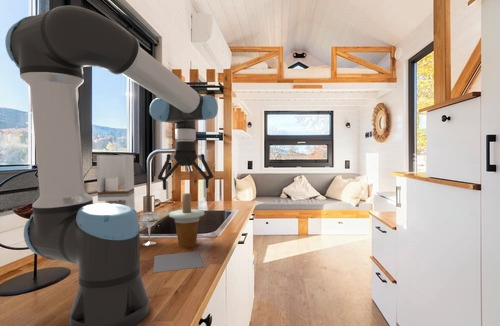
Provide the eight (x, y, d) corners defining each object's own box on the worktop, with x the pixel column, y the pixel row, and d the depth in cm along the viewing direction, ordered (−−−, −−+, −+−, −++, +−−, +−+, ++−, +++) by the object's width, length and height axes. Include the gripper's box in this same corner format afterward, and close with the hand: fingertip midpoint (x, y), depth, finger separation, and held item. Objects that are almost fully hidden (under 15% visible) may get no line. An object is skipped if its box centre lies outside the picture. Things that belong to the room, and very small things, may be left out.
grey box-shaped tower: (108, 240, 118) (105, 155, 117) (135, 238, 120) (133, 155, 119) (99, 248, 107) (96, 155, 106) (129, 246, 109) (127, 154, 108)
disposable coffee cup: (194, 251, 102) (193, 218, 102) (169, 249, 104) (169, 217, 104) (203, 243, 112) (203, 212, 111) (181, 242, 114) (180, 212, 113)
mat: (152, 274, 82) (152, 272, 82) (154, 257, 97) (154, 255, 97) (205, 268, 86) (205, 266, 86) (199, 252, 101) (199, 251, 101)
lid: (169, 219, 100) (168, 196, 100) (168, 212, 112) (168, 192, 112) (206, 217, 103) (206, 195, 103) (202, 210, 116) (201, 191, 116)
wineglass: (143, 241, 115) (142, 211, 115) (160, 241, 116) (159, 211, 115) (137, 246, 109) (136, 215, 108) (155, 246, 109) (155, 214, 109)
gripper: (216, 142, 114) (217, 195, 114) (150, 141, 107) (151, 198, 107) (220, 140, 107) (220, 197, 107) (149, 140, 100) (150, 200, 100)
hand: (186, 197), depth 107 cm, fingers open, 13 cm apart
